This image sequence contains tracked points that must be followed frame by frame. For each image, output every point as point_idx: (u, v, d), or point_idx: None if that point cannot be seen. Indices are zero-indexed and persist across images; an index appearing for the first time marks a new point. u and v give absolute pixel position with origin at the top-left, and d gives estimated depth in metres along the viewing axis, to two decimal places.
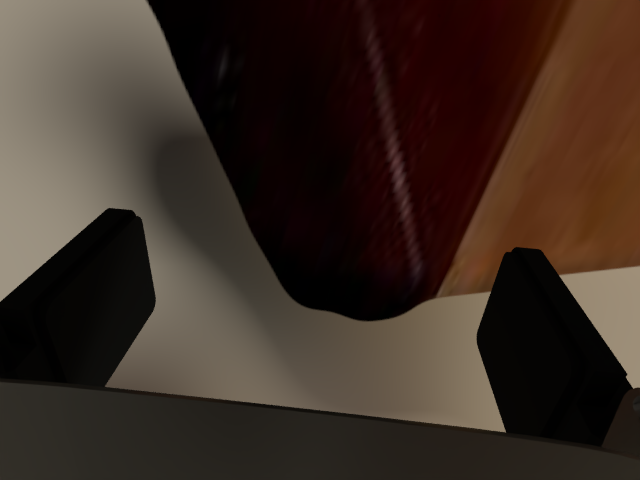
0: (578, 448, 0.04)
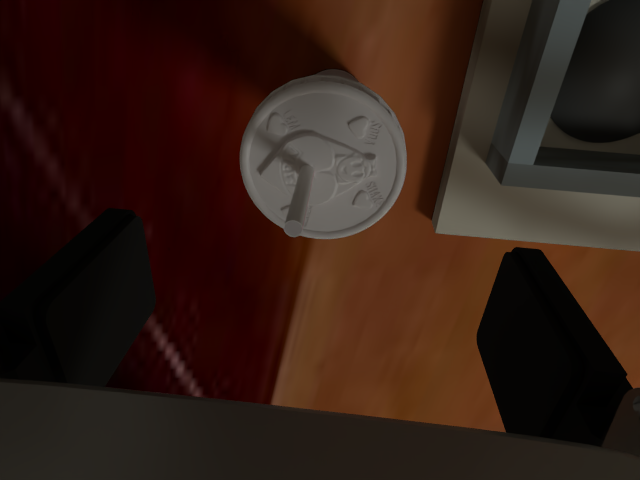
0: (578, 448, 0.04)
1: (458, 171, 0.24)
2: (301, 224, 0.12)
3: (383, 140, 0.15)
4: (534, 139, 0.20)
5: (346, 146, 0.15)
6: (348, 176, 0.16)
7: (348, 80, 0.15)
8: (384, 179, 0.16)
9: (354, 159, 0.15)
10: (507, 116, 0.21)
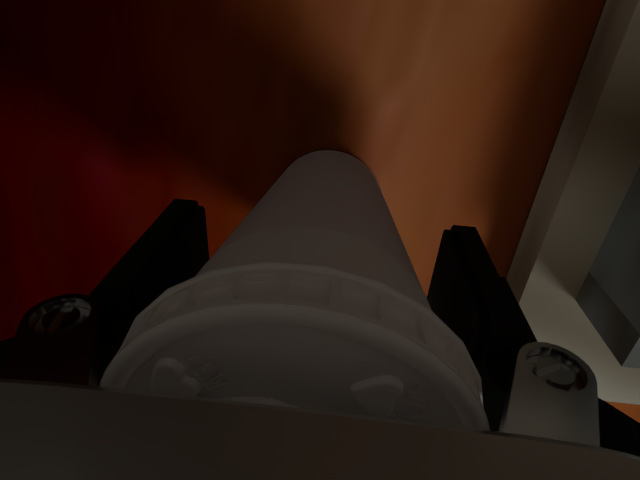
0: (578, 448, 0.04)
1: (529, 310, 0.15)
2: None
3: (438, 420, 0.06)
4: None
5: None
6: None
7: (351, 277, 0.06)
8: None
9: None
10: (631, 245, 0.12)
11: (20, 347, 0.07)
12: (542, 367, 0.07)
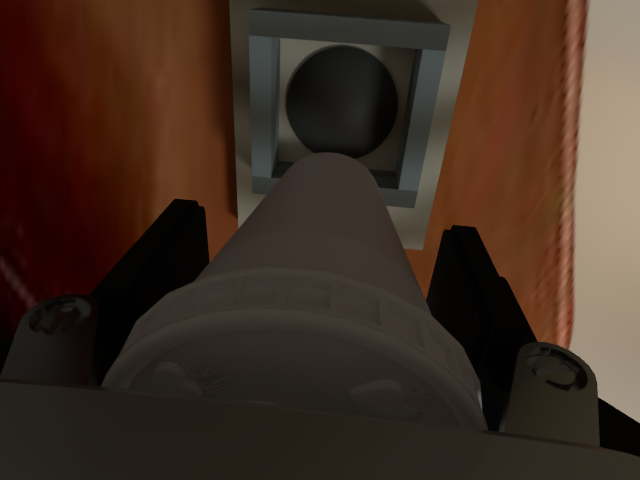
0: (578, 448, 0.04)
1: (242, 182, 0.30)
2: None
3: None
4: (265, 158, 0.26)
5: None
6: None
7: (351, 282, 0.06)
8: None
9: None
10: None
11: (20, 347, 0.07)
12: (542, 367, 0.07)
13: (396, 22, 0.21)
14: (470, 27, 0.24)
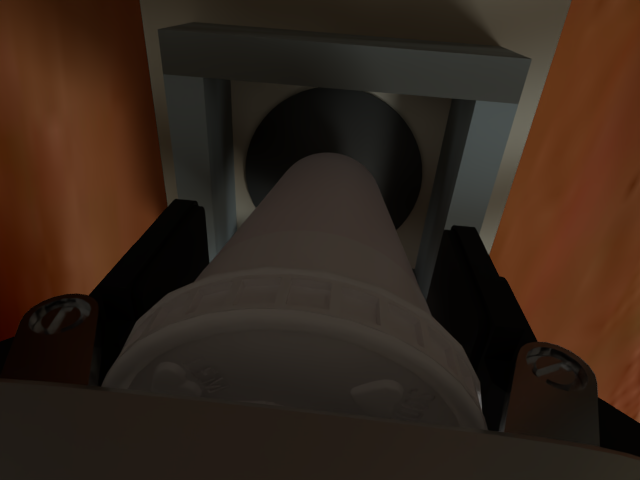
0: (578, 448, 0.04)
1: None
2: None
3: None
4: None
5: None
6: None
7: (351, 282, 0.06)
8: None
9: None
10: None
11: (20, 347, 0.07)
12: (542, 367, 0.07)
13: (429, 53, 0.12)
14: (549, 56, 0.14)
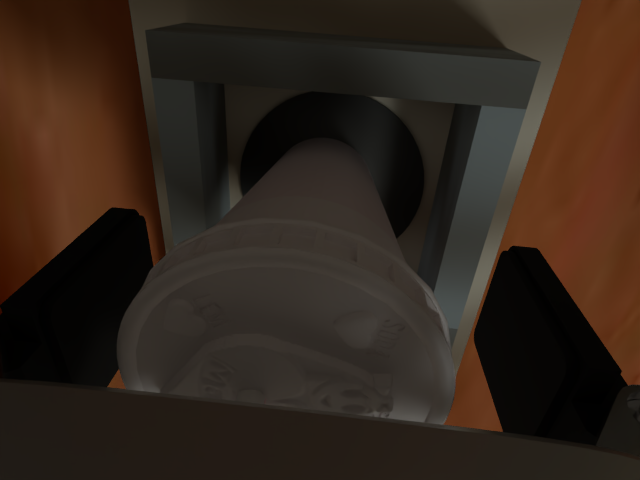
0: (578, 448, 0.04)
1: None
2: None
3: (408, 352, 0.07)
4: None
5: (329, 360, 0.07)
6: (335, 410, 0.08)
7: (333, 230, 0.07)
8: (408, 411, 0.08)
9: (347, 385, 0.07)
10: None
11: None
12: None
13: (432, 55, 0.11)
14: (558, 58, 0.13)
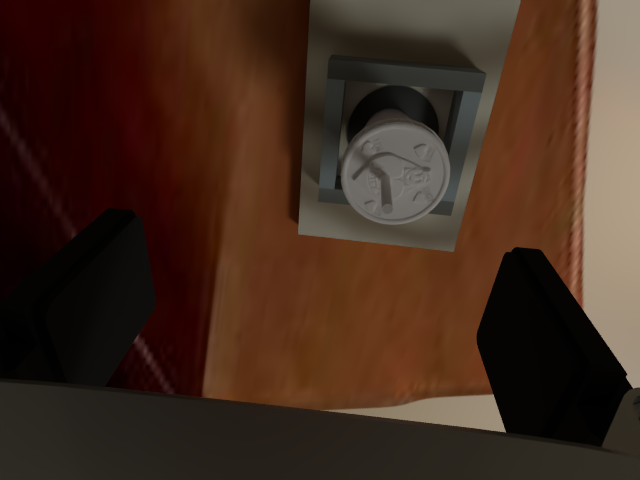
0: (578, 448, 0.04)
1: (305, 192, 0.36)
2: (392, 206, 0.21)
3: (435, 159, 0.24)
4: (331, 173, 0.32)
5: (411, 162, 0.24)
6: (412, 181, 0.24)
7: (414, 121, 0.24)
8: (435, 184, 0.24)
9: (416, 171, 0.24)
10: None
11: None
12: None
13: (443, 70, 0.28)
14: (499, 72, 0.30)
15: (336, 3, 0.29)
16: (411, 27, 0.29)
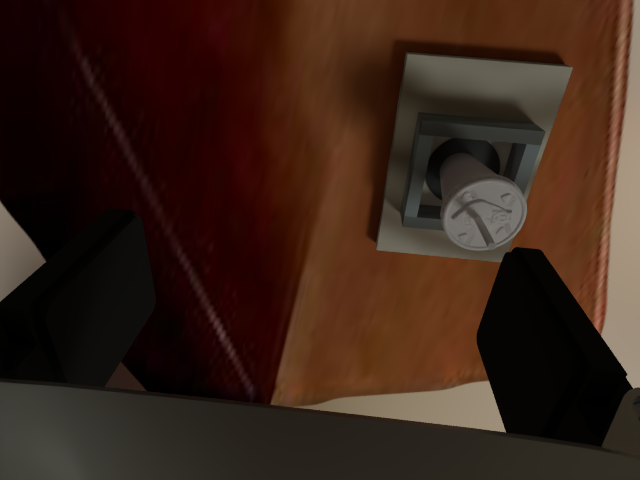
0: (578, 448, 0.04)
1: (386, 217, 0.44)
2: (495, 244, 0.29)
3: (516, 204, 0.32)
4: (415, 205, 0.40)
5: (498, 206, 0.32)
6: (497, 220, 0.33)
7: (501, 176, 0.32)
8: (514, 221, 0.33)
9: (501, 212, 0.32)
10: (405, 191, 0.41)
11: None
12: None
13: (512, 129, 0.36)
14: (551, 125, 0.38)
15: (425, 74, 0.37)
16: (483, 92, 0.37)
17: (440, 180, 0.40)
